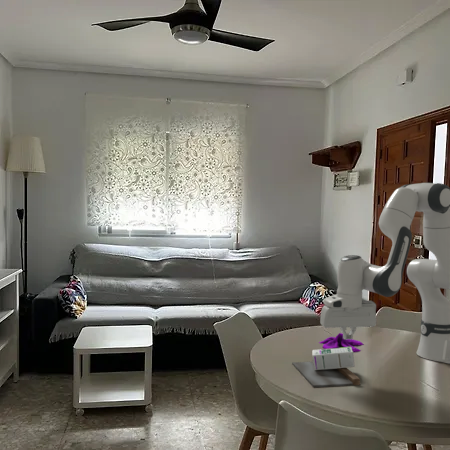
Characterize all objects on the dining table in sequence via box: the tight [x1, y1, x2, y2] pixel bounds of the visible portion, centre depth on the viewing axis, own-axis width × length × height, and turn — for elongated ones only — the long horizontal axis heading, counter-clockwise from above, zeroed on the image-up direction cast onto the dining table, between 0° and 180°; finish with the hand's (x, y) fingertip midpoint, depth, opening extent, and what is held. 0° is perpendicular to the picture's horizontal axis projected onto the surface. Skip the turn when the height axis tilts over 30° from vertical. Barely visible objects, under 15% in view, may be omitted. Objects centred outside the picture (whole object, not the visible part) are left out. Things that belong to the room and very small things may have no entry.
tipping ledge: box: [292, 361, 361, 388], centre depth 162 cm, size 16×22×2 cm
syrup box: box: [311, 347, 355, 370], centre depth 165 cm, size 6×6×14 cm
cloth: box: [318, 332, 365, 353], centre depth 196 cm, size 22×19×6 cm
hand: (347, 338), depth 163 cm, fingers closed
